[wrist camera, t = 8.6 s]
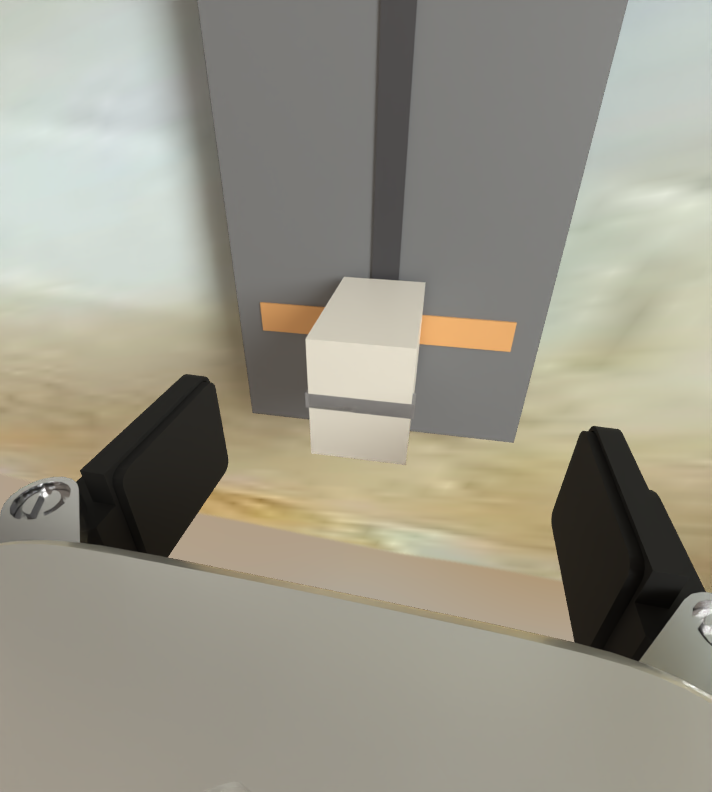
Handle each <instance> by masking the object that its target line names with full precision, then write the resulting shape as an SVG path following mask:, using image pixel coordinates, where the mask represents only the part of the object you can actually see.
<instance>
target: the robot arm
mask: <svg viewBox="0 0 712 792" xmlns="http://www.w3.org/2000/svg"><path fill="white" fill-rule="evenodd" d="M227 467H228V455H227V449H226V444H225V438H224V433H223V427H222V421H221V416H220V410H219V405H218V399H217V394H216V388H215V385H214V384H213V383H210V381H209V379H208V378H207V377H204V376H196V375H188V374H186V375H183V376H182V377H181V378H180V379H179V380H178V381H177V382H175V383H174V384H173V385H172V386H171V387H170V388H169V389H168V390H167V391H166V392H165V393H164V394H162V395H161V396H160V397H159V398H158V399H157V400H156V401H155V402H154V403H153V404H152V405H151V406H149V407H148V408H147V409H146V410H145V411H144V412H143V413H142V414H141V415H140V416H139V417H137V418H136V419H135V420H134V421H133V422H132V423H131V424H130V425H129V426H128V427H127V428H126V429H124V430H123V431H122V432H121V433H120V434H119V435H118V436H117V437H116V438H115V439H114V440H113V441H111V442H110V443H109V444H108V445H107V446H106V447H105V448H104V449H103V450H102V451H101V452H100V453H98V454H97V455H96V456H95V457H94V458H93V459H92V460H91V461H90V462H89V463H88V464H87V465H85V466H84V467H83V468H82V469H81V470H80V472H81V474H82V477H81V478H80V479H79V480H78V481H77V482H75V481H73V480H72V479H70V478H66V477H51V478H46V479H41V480H39V481H36V482H33V483H30V484H28V485H27V486H25V487H23V488H21V489H19V490H18V491H17V492H15V493H14V494H13V495H11V496H10V497H9V499H8V500H7V501H6V502H5V503H4V505H3V507H2V510H1V514H0V792H712V593H708V592H706V591H705V589H704V587H703V585H702V583H701V581H700V579H699V577H698V575H697V573H696V571H695V569H694V567H693V565H692V563H691V561H690V559H689V557H688V555H687V552H686V550H685V548H684V546H683V544H682V542H681V540H680V538H679V536H678V534H677V532H676V530H675V528H674V526H673V524H672V522H671V520H670V518H669V516H668V514H667V512H666V510H665V508H664V505H663V503H662V501H661V499H660V498H659V496H658V495H657V493H656V492H654V491H652V490H649V489H648V487H647V485H646V482H645V480H644V478H643V476H642V474H641V472H640V470H639V468H638V465H637V463H636V461H635V459H634V457H633V455H632V453H631V451H630V448H629V446H628V444H627V442H626V440H625V438H624V436H623V434H622V432H621V431H620V430H619V429H613V428H605V427H597V426H593V427H591V428H590V429H589V431H582V432H581V433H580V435H579V438H578V441H577V444H576V446H575V449H574V452H573V455H572V458H571V461H570V463H569V466H568V469H567V472H566V475H565V478H564V480H563V483H562V486H561V489H560V492H559V495H558V497H557V500H556V503H555V506H554V509H553V512H552V529H553V535H554V540H555V545H556V550H557V555H558V560H559V565H560V570H561V575H562V580H563V585H564V590H565V596H566V601H567V606H568V610H569V616H570V621H571V626H572V631H573V636H574V641H575V643H574V642H570V641H566V640H562V639H557V638H552V637H548V636H544V635H539V634H535V633H531V632H526V631H522V630H517V629H513V628H508V627H504V626H500V625H495V624H490V623H485V622H481V621H476V620H471V619H467V618H462V617H457V616H452V615H448V614H443V613H438V612H433V611H428V610H424V609H419V608H414V607H409V606H404V605H400V604H395V603H390V602H385V601H381V600H376V599H370V598H366V597H361V596H356V595H351V594H347V593H341V592H337V591H332V590H327V589H322V588H317V587H312V586H307V585H303V584H298V583H293V582H288V581H283V580H278V579H273V578H267V577H263V576H258V575H253V574H248V573H243V572H238V571H233V570H228V569H223V568H218V567H213V566H207V565H203V564H198V563H193V562H187V561H182V560H178V559H173V558H168V556H169V555H170V553H171V552H172V550H173V549H174V547H175V546H176V544H177V543H178V541H179V540H180V538H181V537H182V535H183V534H184V532H185V531H186V529H187V528H188V526H189V525H190V523H191V522H192V521H193V519H194V518H195V516H196V515H197V513H198V512H199V510H200V509H201V507H202V506H203V504H204V503H205V501H206V500H207V498H208V497H209V496H210V494H211V493H212V491H213V490H214V488H215V487H216V485H217V484H218V482H219V481H220V479H221V478H222V476H223V475H224V473H225V472H226V470H227Z"/></svg>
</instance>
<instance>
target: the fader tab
mask: <svg viewBox="0 0 712 792" xmlns="http://www.w3.org/2000/svg"><path fill="white" fill-rule="evenodd" d="M425 283H426V282H412V281H398V280H383V279H369V278H354V277H344V278H343V279H342V281H341V282H340V284H339V286H338V287H337V289H336V290H335V292H334V294H333V295H332V297H331V298H330V300H329V302H328V303H327V305H326V307H325V308H324V310H323V311H322V313H321V315H320V316H319V318H318V319H317V321H316V323H315V324H314V326H313V327H312V329H311V331H310V332H309V334H308V336H307V337H306V339H305V341H306V360H307V379H308V388H307V390H306V392H305V404H306V407H307V408H309V418H310V437H311V453H314V454H322V455H330V456H338V457H346V458H354V459H362V460H370V461H378V462H386V463H394V464H402V465H406V457H407V449H408V441H409V432H410V424H411V419H414V410H415V401H416V394H415V393H414V391H415V383H416V374H417V364H418V354H419V344H420V334H421V323H422V313H423V303H424V293H425Z"/></svg>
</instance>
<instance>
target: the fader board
mask: <svg viewBox="0 0 712 792" xmlns="http://www.w3.org/2000/svg"><path fill="white" fill-rule="evenodd" d="M197 2H198V10H199V17H200V25H201V32H202V39H203V47H204V54H205V62H206V69H207V77H208V84H209V91H210V99H211V106H212V114H213V121H214V129H215V136H216V143H217V151H218V158H219V166H220V173H221V181H222V188H223V196H224V203H225V210H226V218H227V225H228V233H229V240H230V248H231V255H232V262H233V270H234V277H235V285H236V292H237V300H238V307H239V314H240V322H241V329H242V337H243V344H244V352H245V359H246V367H247V374H248V381H249V389H250V396H251V404H252V411H253V413H258V414H267V415H275V416H284V417H293V418H302V419H310V418H309V408H307V407H306V404H305V392H306V390H307V388H308V379H307V360H306V341H305V339H306V337H307V336H308V334H309V332H310V331H311V329H312V327H313V326H314V324H315V323H316V321H317V319H318V318H319V316H320V315H321V313H322V311H323V310H324V308H325V307H326V305H327V303H328V302H329V300H330V298H331V297H332V295H333V294H334V292H335V290H336V289H337V287H338V286H339V284H340V282H341V281H342V279H343V278H344V277H354V278H369V279H383V280H398V281H412V282H426V283H425V293H424V303H423V313H422V323H421V334H420V344H419V354H418V364H417V374H416V383H415V391H414V393H415V394H416V401H415V410H414V419H411V424H410V431H416V432H424V433H433V434H442V435H451V436H459V437H468V438H477V439H486V440H494V441H503V442H512V443H514V439H515V436H516V432H517V428H518V424H519V420H520V416H521V412H522V409H523V405H524V401H525V397H526V393H527V389H528V385H529V381H530V378H531V374H532V370H533V366H534V362H535V358H536V354H537V351H538V347H539V343H540V339H541V335H542V331H543V327H544V323H545V320H546V316H547V312H548V308H549V304H550V300H551V296H552V293H553V289H554V285H555V281H556V277H557V273H558V269H559V265H560V262H561V258H562V254H563V250H564V246H565V242H566V238H567V235H568V231H569V227H570V223H571V219H572V215H573V211H574V207H575V204H576V200H577V196H578V192H579V188H580V184H581V180H582V177H583V173H584V169H585V165H586V161H587V157H588V153H589V149H590V146H591V142H592V138H593V134H594V130H595V126H596V122H597V119H598V115H599V111H600V107H601V103H602V99H603V95H604V91H605V88H606V84H607V80H608V76H609V72H610V68H611V64H612V61H613V57H614V53H615V49H616V45H617V41H618V37H619V33H620V30H621V26H622V22H623V18H624V14H625V10H626V6H627V3H628V0H197Z"/></svg>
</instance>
